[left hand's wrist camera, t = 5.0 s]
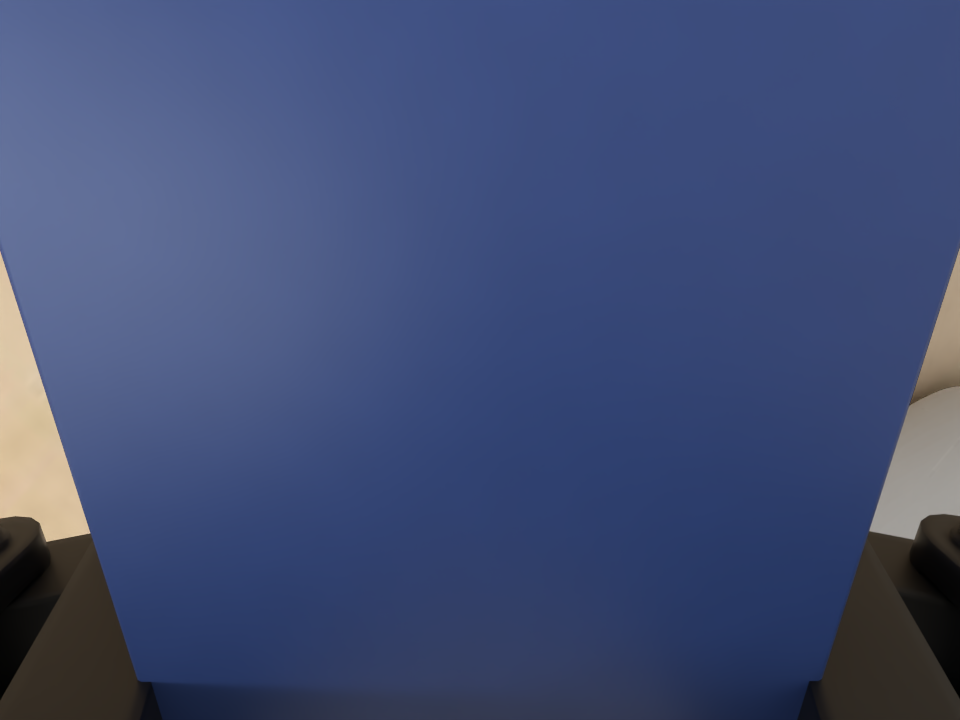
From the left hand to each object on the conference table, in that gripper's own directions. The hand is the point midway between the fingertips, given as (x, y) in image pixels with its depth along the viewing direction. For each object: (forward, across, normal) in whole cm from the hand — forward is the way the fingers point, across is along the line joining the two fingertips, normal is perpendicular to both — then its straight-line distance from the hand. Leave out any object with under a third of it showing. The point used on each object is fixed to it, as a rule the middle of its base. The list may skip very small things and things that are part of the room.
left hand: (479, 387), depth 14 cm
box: (+2, 0, -9) cm, 9 cm away
